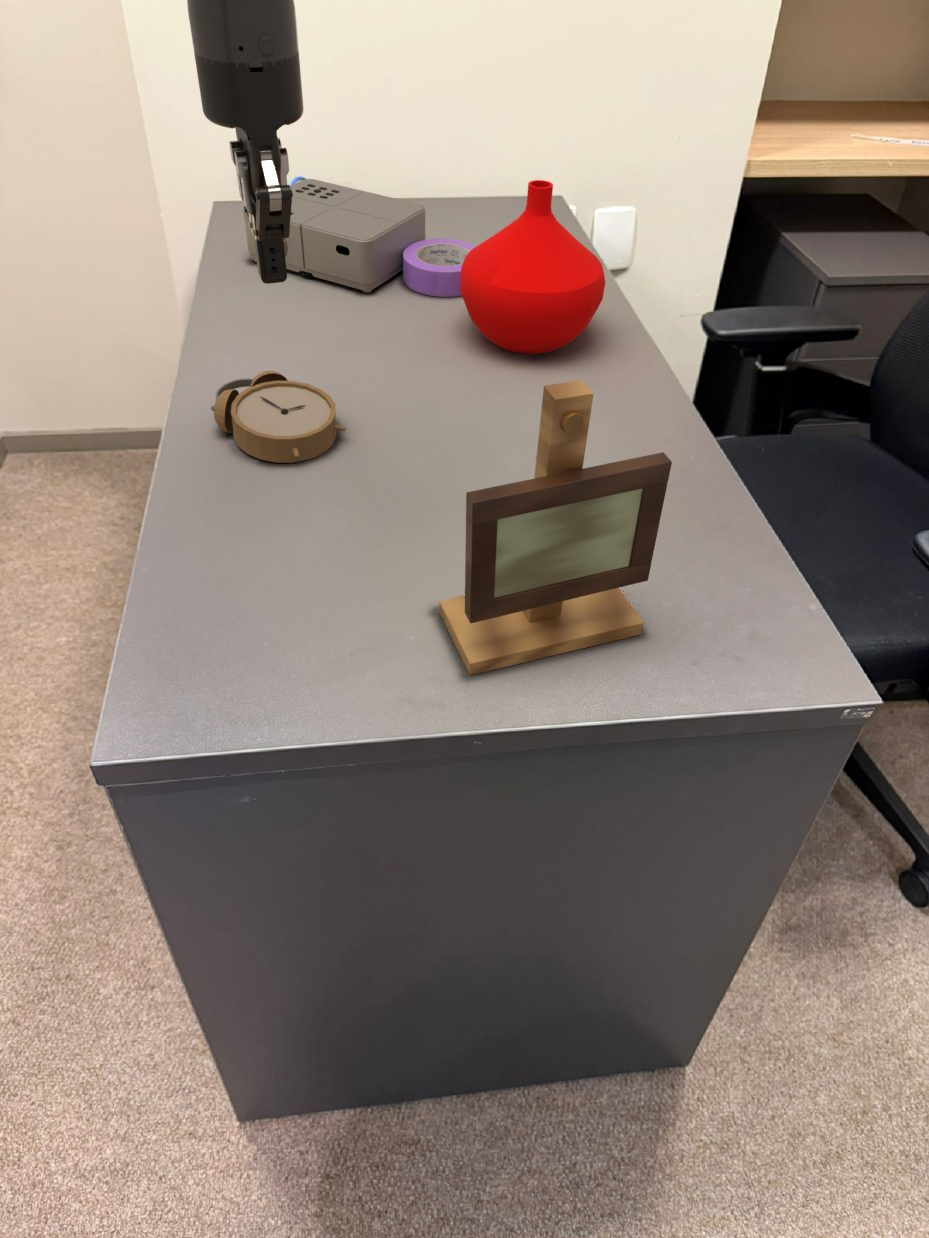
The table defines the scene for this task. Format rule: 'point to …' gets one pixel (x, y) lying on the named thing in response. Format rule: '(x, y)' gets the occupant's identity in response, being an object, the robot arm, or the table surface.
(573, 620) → the stand
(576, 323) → the vase
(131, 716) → the table surface
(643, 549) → the frame
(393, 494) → the table surface
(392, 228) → the projector
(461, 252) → the tape roll
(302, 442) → the alarm clock
